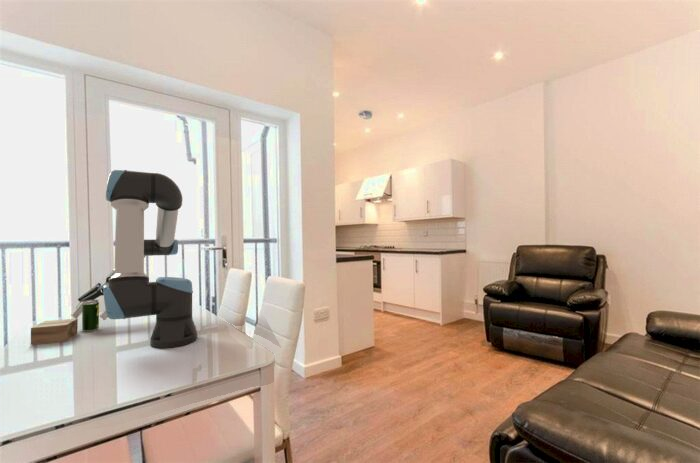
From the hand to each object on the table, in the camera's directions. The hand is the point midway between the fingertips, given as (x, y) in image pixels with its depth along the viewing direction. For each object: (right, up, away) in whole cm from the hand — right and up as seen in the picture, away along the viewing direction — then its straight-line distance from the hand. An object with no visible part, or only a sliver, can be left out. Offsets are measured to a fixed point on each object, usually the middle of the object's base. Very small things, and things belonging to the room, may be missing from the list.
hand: (87, 317), depth 131 cm
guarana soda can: (0, -6, +1) cm, 6 cm away
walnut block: (-4, -5, -10) cm, 12 cm away
